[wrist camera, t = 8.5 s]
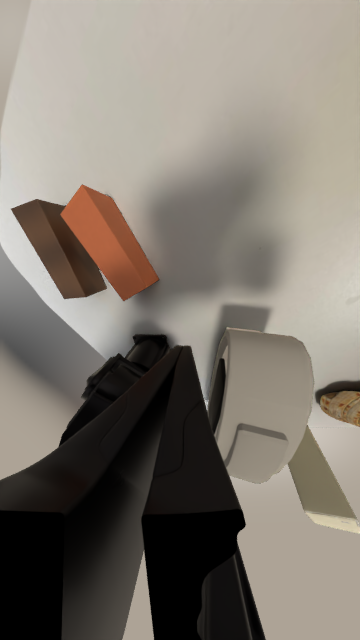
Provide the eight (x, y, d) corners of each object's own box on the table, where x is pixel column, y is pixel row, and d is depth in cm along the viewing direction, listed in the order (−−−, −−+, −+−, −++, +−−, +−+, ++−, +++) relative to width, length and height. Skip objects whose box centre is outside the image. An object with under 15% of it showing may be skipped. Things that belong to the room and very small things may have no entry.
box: (262, 394, 25) (301, 511, 14) (289, 390, 23) (359, 522, 12) (272, 409, 26) (313, 525, 16) (298, 407, 24) (366, 537, 14)
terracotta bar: (159, 279, 18) (147, 287, 15) (138, 291, 20) (123, 301, 16) (112, 197, 15) (81, 183, 11) (91, 220, 16) (59, 214, 13)
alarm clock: (224, 306, 18) (240, 399, 7) (273, 310, 17) (381, 428, 6) (206, 400, 30) (203, 489, 19) (235, 406, 28) (248, 505, 18)
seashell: (331, 391, 18) (442, 427, 14) (324, 363, 22) (409, 385, 18) (312, 421, 22) (394, 457, 18) (309, 393, 26) (375, 417, 21)
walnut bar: (106, 288, 21) (86, 297, 17) (87, 290, 22) (64, 299, 18) (73, 208, 16) (36, 198, 13) (50, 215, 17) (10, 208, 14)
